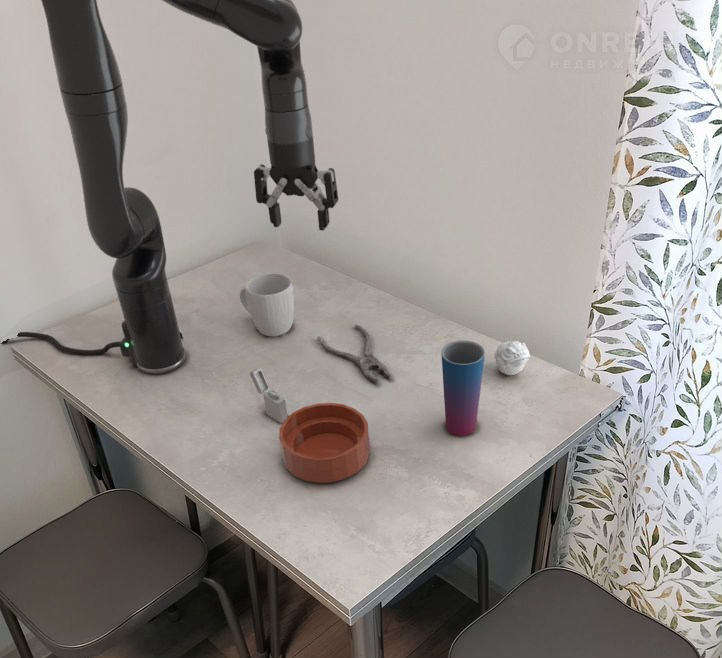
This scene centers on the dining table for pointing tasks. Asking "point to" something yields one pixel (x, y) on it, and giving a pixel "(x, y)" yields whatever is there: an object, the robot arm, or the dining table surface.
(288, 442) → the bowl
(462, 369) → the cup
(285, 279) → the mug
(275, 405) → the lighter
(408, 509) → the dining table surface
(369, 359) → the pliers
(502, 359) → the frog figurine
